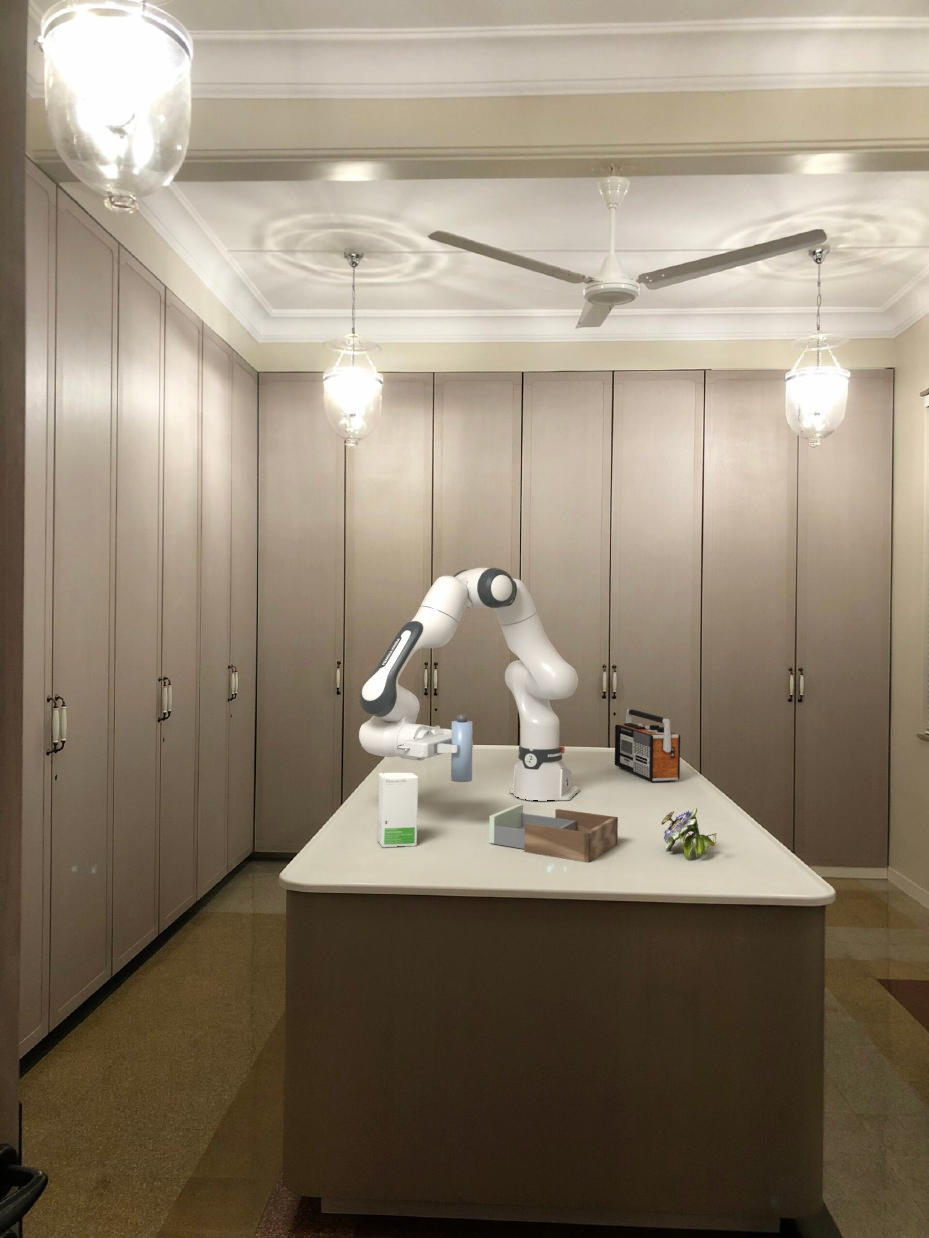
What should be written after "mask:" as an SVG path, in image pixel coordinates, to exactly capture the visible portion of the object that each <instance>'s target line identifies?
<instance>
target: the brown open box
mask: <svg viewBox="0 0 929 1238" xmlns="http://www.w3.org/2000/svg"><path fill="white" fill-rule="evenodd" d="M554 816H555V817H554V818H560V819H567V820H574V821H576V831H574V830H567V829H561V828H554V827H547V826H541V825H534V824H527V823H526V824H525V834H524V849H523V850H524V851H525V852H524V853H529V854H530V853H531V854H535V853H536V855H541V854H542V855H543V856H547V855H549V857H554V858H559V859H560V858H561V859H565V858H566V860H571V859H573V860H572V861H577V862H578V861H579V862H582V863H583V862H585V863H591V860H592V861H593V860H595V859H596V858H598V857H600V854H601V855H602V854H604V853H606V852H607V851H608V850H610V849H611V848H614V847H615V845H618V841H619V840H618V829H619V823H618V822H619V817H618V816H611V815H606V814H605V815H604V814H599V813H598V814H597V813H589V812H582V811H575V810H568V809H560V808H556V809H555V815H554ZM609 848H610V849H609ZM594 858H595V859H594Z"/></svg>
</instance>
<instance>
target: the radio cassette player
mask: <svg viewBox="0 0 929 1238" xmlns="http://www.w3.org/2000/svg"><path fill="white" fill-rule="evenodd" d="M625 714H626V715H625V723H617V724H615V726H614V766H616V767H618V768H619V769H620V770H623V771H626V772H629V773H630V774H633V775H636V776H638V777H640V778H641V779H645V780H647V781H649V782H650V783H655V782H671V781H672V782H673V781H678V780H679V781H680V776H681V769H680V767H681V735H680V734H678V733H674V732H671V720H670V719H669V718H666V717H663V716H659V715H655V714H651V713H648V712H644V711H640V710H636V709H633V708H627V710H626V713H625ZM632 716H633V717H634V716H635V717H639V718H641V719H646V720H649V721H653V722H656V723H659V724H663V725H664V727H661V726H660V725H657V724H651V725H647V724H644V723H641V722H639V723H633V717H632Z"/></svg>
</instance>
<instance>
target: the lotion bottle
mask: <svg viewBox="0 0 929 1238" xmlns="http://www.w3.org/2000/svg"><path fill="white" fill-rule="evenodd" d="M473 725H474V723H473V721H471V720H468V715H467V714H457V715H456V720H453V721H451V730H452V744H456V745H459V746H460V751H459V752H457V753H450V754H451V763H450V764H451V765H450V767H451V769H450V771H451V774H450V775H451V777H450V778H451V781H452V782H456V783H469V782H472V781H473V748H472V741H473Z"/></svg>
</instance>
